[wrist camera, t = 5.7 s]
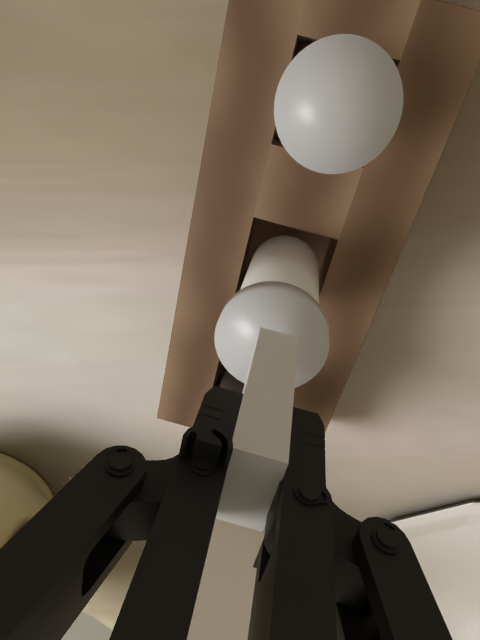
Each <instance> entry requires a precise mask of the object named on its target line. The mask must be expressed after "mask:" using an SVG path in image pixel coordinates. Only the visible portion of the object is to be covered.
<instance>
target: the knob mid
mask: <svg viewBox="0 0 480 640" xmlns="http://www.w3.org/2000/svg"><path fill="white" fill-rule="evenodd" d="M261 327H262V328H266V329H269V330H273V331H276V332H280V333H284V334H287V335H291V336H295V337H298V338H299V339H298V352H297V364H296V376H295V388H296V387H299V386H301V385H303V384H305V383H306V382H308V381H309V380H311V379H312V378H313V377H314V376H316V375H317V373H318V372H319V371H320V370H321V368H322V367H323V365H324V363H325V361H326V359H327V356H328V353H329V327H328V321H327V318H326V315H325V313H324V311H323V309H322V308H321V306H320V305H319V272H318V260H317V257H316V255H315V253H314V251H313V250H312V248H311V247H310V246H309V245H308V244H307V243H305V242H304V241H302V240H300V239H298V238H296V237H292V236H277V237H273V238H270V239H268V240H266V241H265V242H263V243H262V244H261V245H260V246H259V247H258V248H257V250H256V251H255V253H254V255H253V257H252V260H251V263H250V265H249V268H248V270H247V273H246V276H245V278H244V281H243V283H242V286H241V289H240V290H239V291H238V292H237V293H235V294H234V295H233V296H232V297H231V298H230V299H229V300H228V302H227V303H226V305H225V306H224V308H223V310H222V312H221V315H220V317H219V319H218V322H217V325H216V328H215V334H214V342H215V348H216V352H217V355H218V357H219V359H220V361H221V363H222V364H223V366H224V367H225V368H226V369H227V371H228V372H229V373H230V374H231V375H232V376H234V377H235V378H236V379H238V380H239V381H241V382H243V383H244V384H245V381H246V377H247V374H248V370H249V367H250V363H251V360H252V356H253V353H254V349H255V345H256V342H257V338H258V335H259V331H260V328H261Z"/></svg>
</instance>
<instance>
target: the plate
mask: <svg viewBox="0 0 480 640" xmlns="http://www.w3.org/2000/svg"><path fill="white" fill-rule="evenodd" d="M390 522H392V523H394V524H395V525H397V526H398V527H399V528H400V529H401V530H402V531H403V532H404V533H405V535H406V536H407V538H408V540H409V541H410V543H411V545H412V548H413V550H414V552H415V555H416V557H417V559H418V561H419V564H420V566H421V568H422V571H423V573H424V575H425V577H426V580H427V582H428V584H429V587H430V589H431V591H432V593H433V596H434V598H435V600H436V603H437V605H438V607H439V609H440V612H441V614H442V616H443V619H444V621H445V623H446V626H447V628H448V630H449V632H450V635H451V637H452V639H453V640H480V501H476V500H470V501H466V502H462V503H458V504H454V505H450V506H446V507H442V508H438V509H434V510H430V511H426V512H422V513H417V514H413V515H409V516H405V517H401V518H397V519H393V520H390Z"/></svg>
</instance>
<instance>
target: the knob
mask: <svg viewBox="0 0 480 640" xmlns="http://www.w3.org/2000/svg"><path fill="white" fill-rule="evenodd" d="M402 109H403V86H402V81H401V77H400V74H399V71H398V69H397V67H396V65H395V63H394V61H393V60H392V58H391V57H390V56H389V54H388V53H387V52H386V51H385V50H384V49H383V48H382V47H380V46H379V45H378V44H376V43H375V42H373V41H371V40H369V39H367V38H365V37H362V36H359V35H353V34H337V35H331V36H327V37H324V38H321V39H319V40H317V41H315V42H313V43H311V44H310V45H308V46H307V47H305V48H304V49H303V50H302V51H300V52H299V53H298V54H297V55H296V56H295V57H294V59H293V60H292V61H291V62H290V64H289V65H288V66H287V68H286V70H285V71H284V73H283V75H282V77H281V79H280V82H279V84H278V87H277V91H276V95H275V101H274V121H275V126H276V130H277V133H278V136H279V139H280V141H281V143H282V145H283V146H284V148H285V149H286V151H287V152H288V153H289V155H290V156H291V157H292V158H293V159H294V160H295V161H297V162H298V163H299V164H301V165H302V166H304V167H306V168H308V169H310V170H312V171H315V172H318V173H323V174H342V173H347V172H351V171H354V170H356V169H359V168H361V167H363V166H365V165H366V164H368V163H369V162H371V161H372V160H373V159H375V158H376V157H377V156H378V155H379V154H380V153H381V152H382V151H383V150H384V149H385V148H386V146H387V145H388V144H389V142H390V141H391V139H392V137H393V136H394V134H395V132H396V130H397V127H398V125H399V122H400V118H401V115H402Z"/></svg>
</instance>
